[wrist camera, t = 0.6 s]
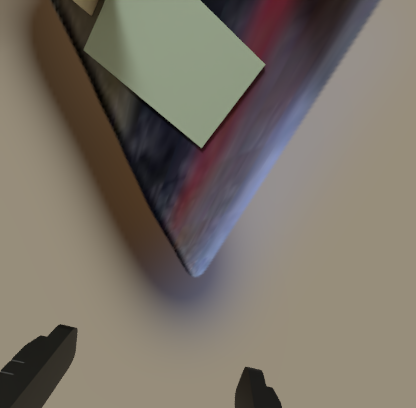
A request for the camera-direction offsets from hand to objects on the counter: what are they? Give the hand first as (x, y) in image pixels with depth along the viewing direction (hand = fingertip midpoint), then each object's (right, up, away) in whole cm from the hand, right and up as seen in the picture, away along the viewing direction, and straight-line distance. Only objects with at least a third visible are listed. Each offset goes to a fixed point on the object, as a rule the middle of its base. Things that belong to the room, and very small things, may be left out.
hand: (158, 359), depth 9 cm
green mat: (-2, +25, +15) cm, 29 cm away
